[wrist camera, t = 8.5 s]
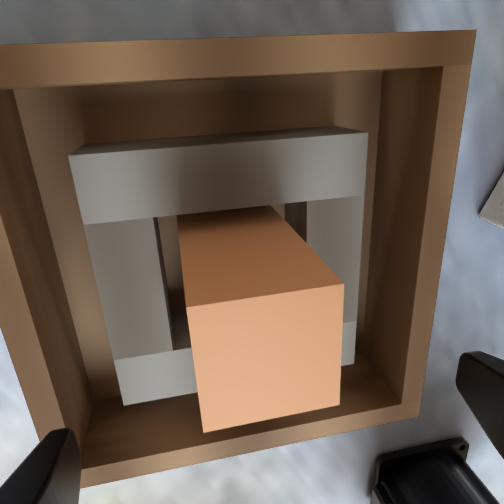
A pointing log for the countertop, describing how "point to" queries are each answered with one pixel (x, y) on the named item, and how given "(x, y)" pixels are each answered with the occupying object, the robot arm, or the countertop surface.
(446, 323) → the countertop surface
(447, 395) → the countertop surface
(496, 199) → the supplement box
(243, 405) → the block
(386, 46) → the tray
